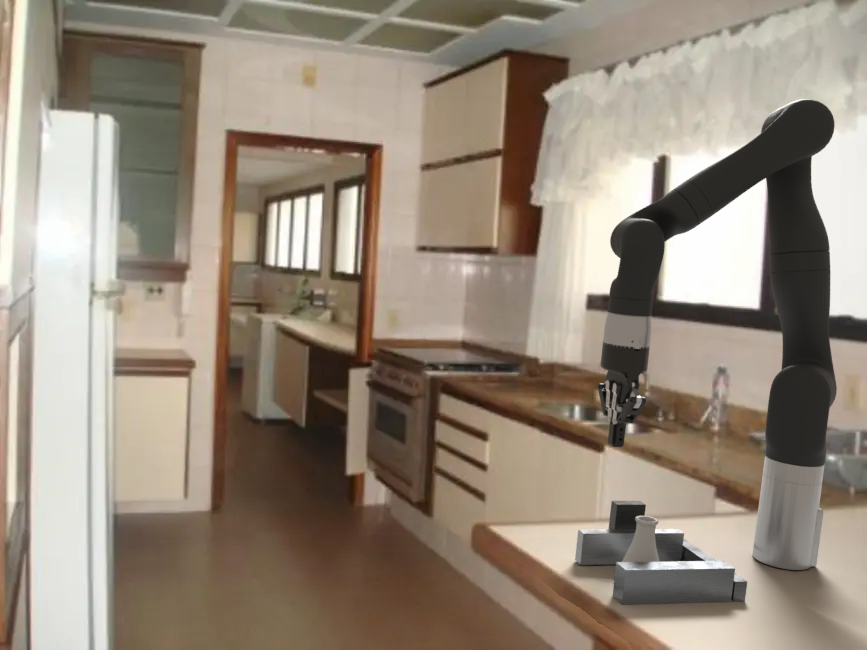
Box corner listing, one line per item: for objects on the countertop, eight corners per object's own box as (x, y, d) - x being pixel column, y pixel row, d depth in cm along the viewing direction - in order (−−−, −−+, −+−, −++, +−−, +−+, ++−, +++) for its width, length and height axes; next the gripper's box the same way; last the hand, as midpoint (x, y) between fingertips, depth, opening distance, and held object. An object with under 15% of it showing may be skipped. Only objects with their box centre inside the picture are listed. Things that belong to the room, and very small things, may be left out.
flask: (636, 595, 138) (644, 528, 137) (605, 576, 144) (612, 512, 143) (674, 590, 141) (682, 524, 140) (642, 572, 147) (649, 509, 146)
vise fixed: (679, 554, 157) (682, 524, 157) (744, 601, 139) (749, 568, 138) (568, 555, 152) (571, 525, 151) (621, 604, 134) (625, 570, 133)
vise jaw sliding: (668, 554, 156) (674, 501, 155) (680, 563, 152) (687, 508, 151) (570, 555, 151) (575, 500, 150) (580, 564, 148) (586, 508, 147)
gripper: (587, 335, 160) (577, 436, 162) (624, 346, 148) (613, 456, 149) (627, 337, 162) (617, 436, 164) (667, 348, 150) (655, 456, 152)
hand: (615, 445), depth 157 cm, fingers closed
